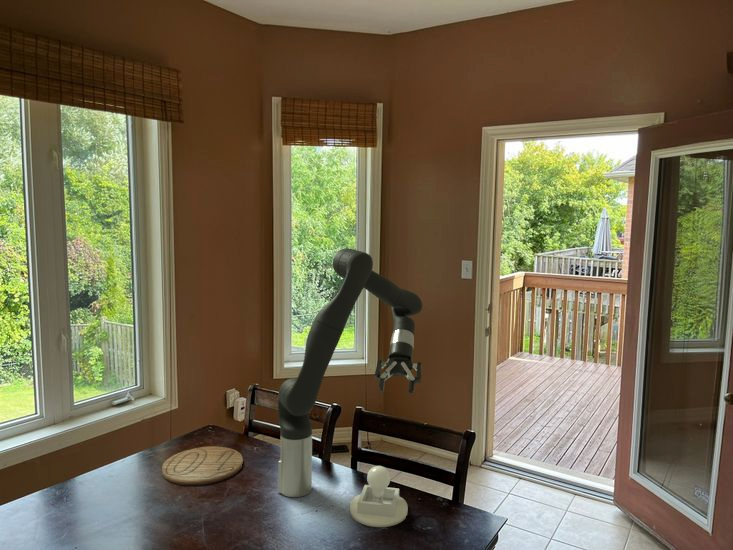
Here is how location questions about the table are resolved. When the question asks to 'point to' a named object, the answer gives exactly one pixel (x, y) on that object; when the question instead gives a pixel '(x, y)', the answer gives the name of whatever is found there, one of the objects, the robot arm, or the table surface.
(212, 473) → the trivet
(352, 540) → the table surface
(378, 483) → the lightbulb
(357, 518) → the lamp base
